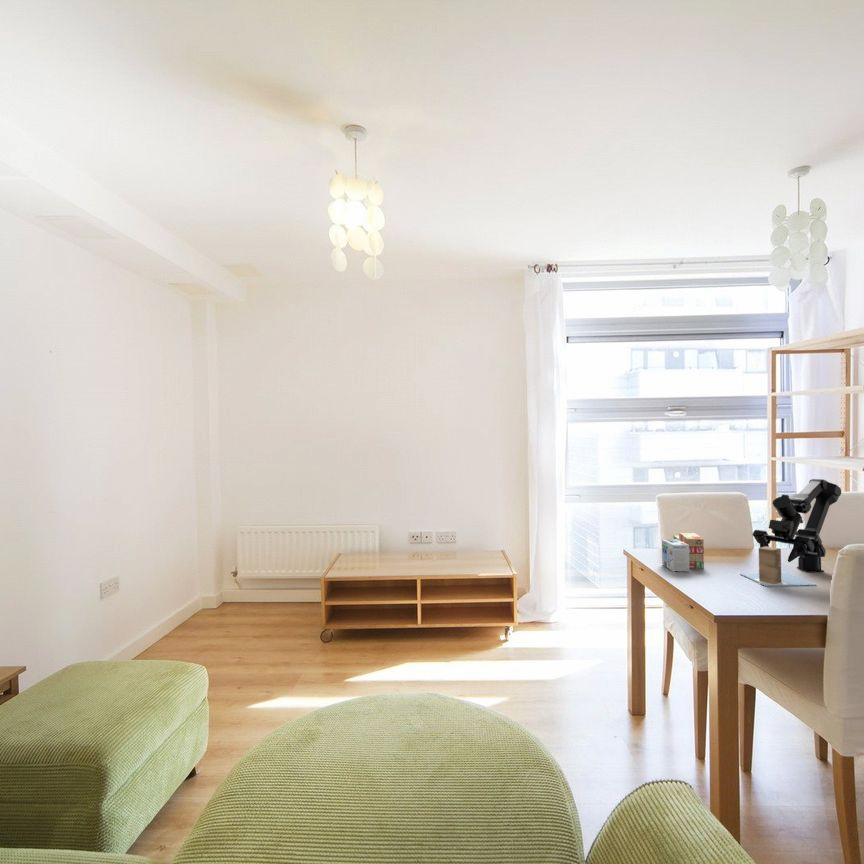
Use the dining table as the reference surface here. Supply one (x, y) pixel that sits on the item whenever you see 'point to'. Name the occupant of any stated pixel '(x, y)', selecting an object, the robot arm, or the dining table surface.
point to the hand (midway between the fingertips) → (774, 558)
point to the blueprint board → (785, 580)
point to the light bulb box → (675, 555)
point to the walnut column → (770, 565)
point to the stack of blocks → (693, 548)
